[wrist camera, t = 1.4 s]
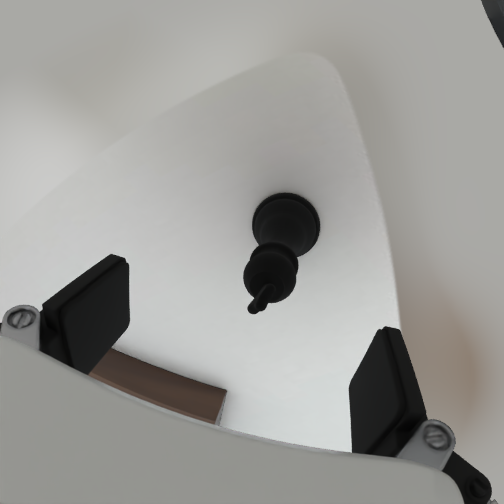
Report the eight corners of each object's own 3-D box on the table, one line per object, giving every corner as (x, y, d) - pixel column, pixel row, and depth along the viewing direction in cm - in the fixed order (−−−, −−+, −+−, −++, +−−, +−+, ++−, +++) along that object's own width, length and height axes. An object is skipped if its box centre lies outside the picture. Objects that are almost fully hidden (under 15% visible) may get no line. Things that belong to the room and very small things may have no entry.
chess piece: (240, 231, 21) (182, 311, 12) (278, 178, 19) (242, 226, 10) (292, 268, 21) (272, 370, 12) (333, 220, 19) (346, 302, 10)
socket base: (79, 333, 29) (58, 354, 26) (227, 390, 27) (215, 421, 24) (91, 388, 33) (76, 408, 30) (216, 438, 31) (206, 464, 28)
